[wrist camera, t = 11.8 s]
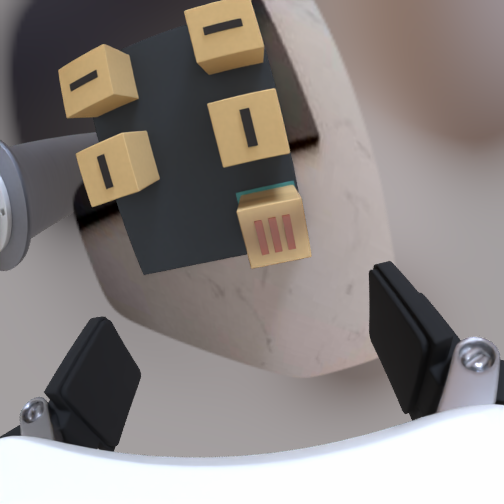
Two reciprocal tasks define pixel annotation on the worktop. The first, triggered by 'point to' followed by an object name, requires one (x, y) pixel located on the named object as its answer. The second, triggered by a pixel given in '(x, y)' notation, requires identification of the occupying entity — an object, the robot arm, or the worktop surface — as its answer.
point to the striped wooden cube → (273, 226)
